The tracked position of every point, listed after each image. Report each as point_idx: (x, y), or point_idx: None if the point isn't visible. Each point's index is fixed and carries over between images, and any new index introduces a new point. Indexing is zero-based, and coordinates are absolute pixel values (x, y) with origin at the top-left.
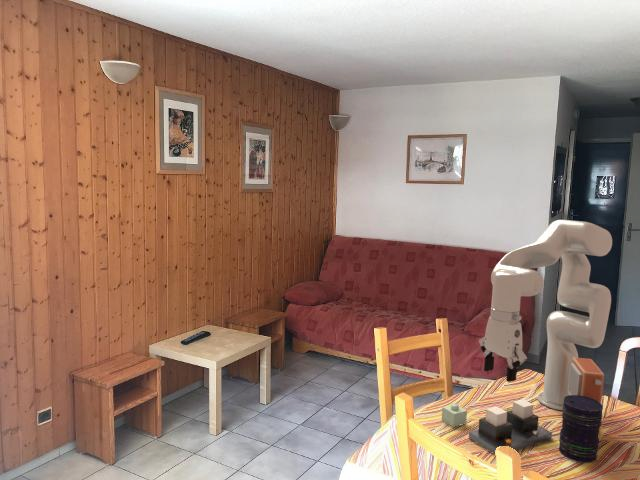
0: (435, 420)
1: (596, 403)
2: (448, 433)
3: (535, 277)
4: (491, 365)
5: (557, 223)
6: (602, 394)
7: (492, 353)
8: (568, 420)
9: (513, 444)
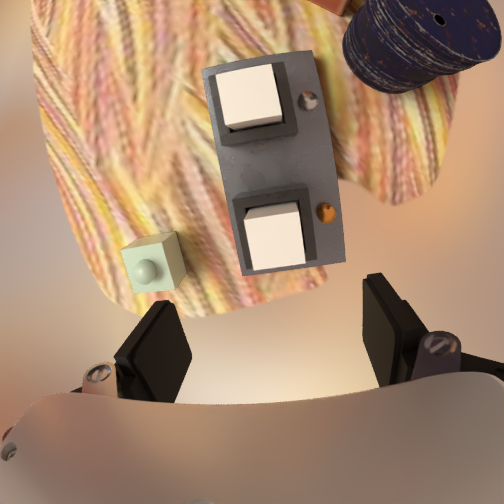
0: (150, 292)
1: None
2: (212, 300)
3: None
4: (168, 338)
5: None
6: None
7: (120, 396)
8: (436, 71)
9: (338, 204)
